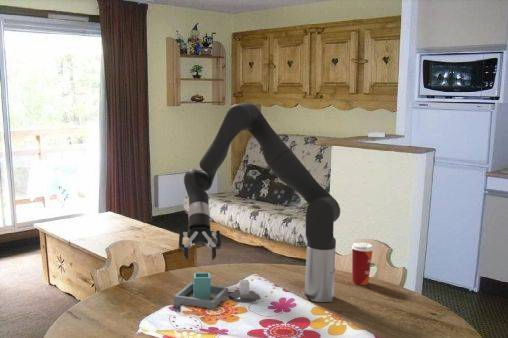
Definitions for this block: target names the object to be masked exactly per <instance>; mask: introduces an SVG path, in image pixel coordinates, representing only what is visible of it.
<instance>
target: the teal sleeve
mask: <svg viewBox="0 0 508 338" xmlns="http://www.w3.org/2000/svg"><path fill="white" fill-rule="evenodd" d="M211 280H212V279H211V273H210V272H193V282H192V283H193V290H192V292H193V293H192V296H193V297H192V298H199V299H205V300H211V293H210V285H211V283H212V282H211Z"/></svg>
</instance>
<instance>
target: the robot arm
mask: <svg viewBox="0 0 508 338" xmlns="http://www.w3.org/2000/svg"><path fill="white" fill-rule="evenodd" d="M243 131H247V132H249V133H250V134H251V135H252V136H253V138H254V139H255V140H256V142H257V143H258V144H259V146H260V150H261V151H262V156H263V158H264V161H265V163H266V164H267V166H268V168H270V170H271V171H272V172H273V174H274V175H275V176H276V177H277V178H278V179H279V180H280V181H282V183H284V184H285V185H287V186H288V187H290V188H291V189H292V190H293V191H295V192H296V193H298V194H299V195H300V196H301V198H303V199H304V200H305V201H306V204H307V207H306V210H305V213H306V214H305V238H306V256H305V257H306V258H305V277H304V278H305V279H304V296H305V297H306V299H308V300H309V301H312V302H315V303H326V302H327V303H332V302H333V298H334V296H335V295H334V294H335V279H336V278H335V277H336V267H335V264H336V263H335V262H336V247H337V246H336V245H337V240H336V238H335V237H334V223H335V222H336V221H338V219H339V218H340V215H341V207H340V204H339V202H338V201H337V199H336V198H334V197H333V195H331V194H330V193H329V192H328V191H327V190H326V189H325V188H324V187H323V186H322V185H321V184H320V183H319V182H318V181H317V180H316V179H315V178H314V177H313V175H312V174H311V172H310V171H309V170H308V169H307V168H306V167H305V165H304V164H303V162H301V161H300V158H299V157H297V155H295V153H294V152H293V150H292V149H291V148H290V147H289V146H288V145H287V144H286V143H285V142H284V140H283V139H282V138H281V137H280V136H279V134H277V132H276V131H275V130H274V129H273V128H272V126H271V125H270V124H269V122H268V121H267V119H266V118H265V116H264V115H263V113H262V112H261V110H260V109H259V107H257V106H256V105H255V104H254V103H252V102H242V103H237V104H236V103H235V104H233V105H231V107H229V108H228V110H227V112H226V114H225V116H224V117H223V120H222V123H221V125H220V127H219V129H218V130H217V133H216V135H215V138H214V139H213V141H212V143H211V144H210V146H209V147H208V149H207V151H205V153H204V155H203V156H202V158H201V159H200V160H199V164H198V165H199V168H200V169H201V170H202V171H201V170H198V169H196V168H189V169H187V171H186V172H185V174H184V177H183V183H184V187H185V191H186V193H187V197H188V213H187V214H188V217H187V218H188V231H183V230H179V237H178V250H183V258H184V260H185V261H189V249H190V248H191V247H192V246H193V245H196V246H198V245H206V246H207V247H209V248H210V250H211V251H210V252H211V261H214V260H215V259H216V258H217V250H220V249H221V248H222V240H221V239H222V238H221V231H220V230H219V229H218V230H215V231H212V229H211V211H210V206H209V205H210V203H209V200H210V199H209V195H208V193H207V191H209V190H210V189H211V188H212V185H213V182H214V179H215V177H216V174H217V172H218V170H219V169H220V167H221V166H222V164H223V163H224V162H225V160H226V158H227V156H228V153H229V148H230V145H231V144H232V142H233V140H234V139H235V138H236V137H237V136H238V135H239V134H240V133H241V132H243ZM186 237H187V238H188V239H187V241H186V242H185V243H184V244H183V241H184V240H183V239H185V238H186ZM212 237H213V238H214V239H215V240H216V241H215V242H216V243H215V242H214V241H213V239H212Z"/></svg>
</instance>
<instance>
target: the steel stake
mask: <svg viewBox="0 0 508 338" xmlns="http://www.w3.org/2000/svg"><path fill="white" fill-rule="evenodd" d="M238 289H239V290H236V291H233V292H231V293H228V294H227V297H228V299H229V300H231V301H232V302H237V303H242V304H243V303H245V304H246V303H247V304H249V303H254V302H257V301H258V300H260V298H261V297H260V294H258V293H256V292H254V291H251V290H250V280H249V279H239V287H238Z"/></svg>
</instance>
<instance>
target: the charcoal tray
mask: <svg viewBox="0 0 508 338" xmlns="http://www.w3.org/2000/svg"><path fill="white" fill-rule="evenodd" d="M193 283H194V282H189V283H188V284H187V285H186V286H184V287H183V288H182V289H181V290H180V291H179V292H177V293H176V294H175V295H173V308H176V309H182V305H187V306H193V307H201V308H206V309H212V310H213V309H215V308H216V307H217V306H218V305H219V304H220V303H221V302H222V301H223V300H224V299H225V298H226V297H228V295H229V287H225V286H218V285H212V284H210V294H217V295H216V296H215V297H214V298H213V299H210V300H205V299H199V298H193V297H191V296H187V295H189V293H191V292H193Z"/></svg>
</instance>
